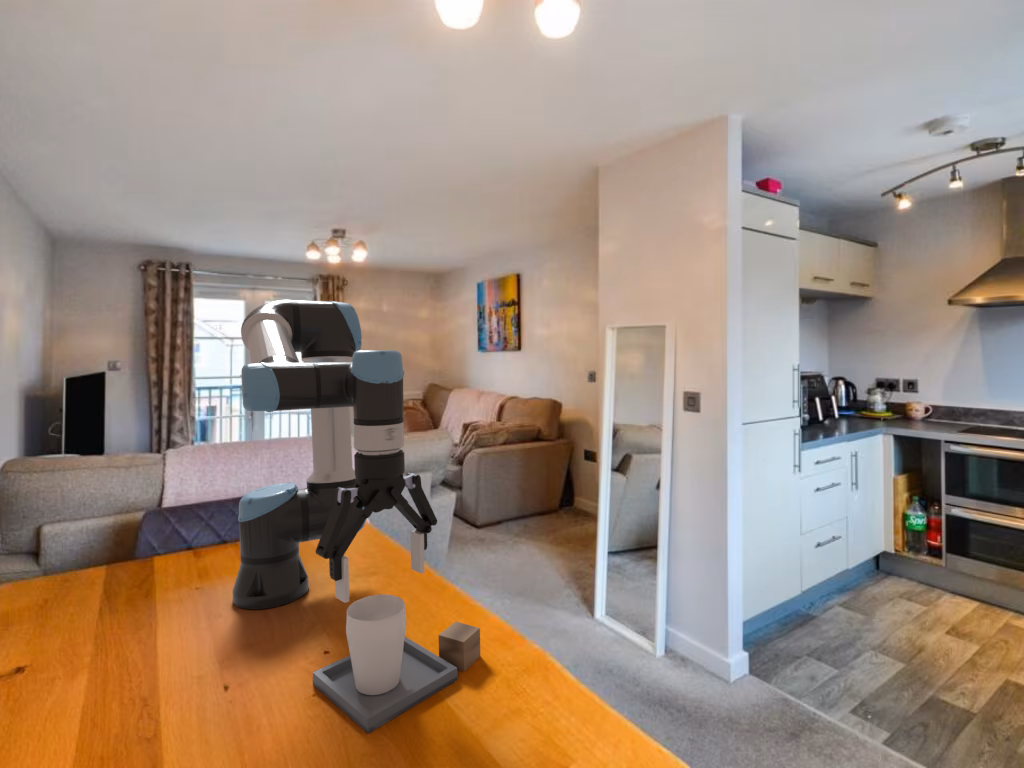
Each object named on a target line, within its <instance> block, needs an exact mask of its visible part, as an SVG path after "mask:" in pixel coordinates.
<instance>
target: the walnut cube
mask: <svg viewBox="0 0 1024 768" xmlns="http://www.w3.org/2000/svg"><path fill="white" fill-rule="evenodd" d="M438 657H440V658H442V659H443V660H445V661H447V662H448V663H450V664H452V665H453V666H455V667H457V671H461V672H463V673H464V672H466V671H467V669H469V668H470V667H471V666H472V665H473V664H474V663H475V662H476V661H477V660H478V659H479V658H480V657H481V628H480V627H477V626H473V625H469V624H465V623H462V622H460V621H454V622H453V623H452V624H450V625H449V626H448V627H446V629H444V630H443V631H441V632H440V633H439V634H438Z"/></svg>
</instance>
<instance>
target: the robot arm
mask: <svg viewBox="0 0 1024 768" xmlns="http://www.w3.org/2000/svg"><path fill="white" fill-rule="evenodd" d="M240 334H241V340H242V343H243V345H244V346H245V348H246V349H247V350H248V351H249V357H250V362H251V363H247V364H244V365H242V367H241V395H242V396H241V398H242V405H243V409H245V410H246V411H249V412H266V413H271V412H272V413H273V412H279V411H281V412H282V411H298V410H310V418H311V419H310V420H311V421H310V422H311V424H310V425H311V441H312V447H311V448H312V468H313V471H312V473H311V475H309V477H307V478H306V488H301V489H300V488H298V486H297V484H295V482H294V483H293V482H287V483H281V482H280V483H274V484H269V485H267V486H262V487H259V488H256V489H254V490H251V491H249V492H248V493H245V495H243V496H242V497H241V499H240V500H239V504H238V517H237V521H238V522H239V549H240V550H239V551H240V565H239V568H238V572H237V575H236V578H235V581H234V586H233V587H232V603H233V605H234V606H236V607H237V608H240V609H245V610H263V609H270V608H276V607H279V606H283V605H287V604H289V603H292V602H293V601H294V602H295V601H296V600H298V599H300V598H302V597H303V596H304V595H306V593H307V592H308V590H309V589H310V585H309V582H310V581H309V576H308V574H307V570H306V569H305V566H304V563H303V560H302V558H301V556H300V544H301V543H305V542H310V541H316V540H319V541H318V542H317V546H316V549H315V554H316V555H318V556H319V557H321V558H323V559H324V560H328V564H329V570H328V571H329V578H330V579H332V580H333V581H334V582H335V583H334V588H335V593H334V596H335V598H336V599H338V600H339V601H341V602H342V603H348V602H350V577H349V576H350V574H349V573H350V572H349V569H350V568H349V557H348V556H346V555H345V554H346V553H347V551H348V549H349V547H350V545H351V544H352V542H353V541H354V539H355V538H356V537H357V534H358V533H359V532H360V531H361V530H362V529H363V528H364V526H365V524H366V522H367V519H369V518H370V517H371V515H372V514H373V513H380V512H382V511H384V510H392V509H394V507H395V508H396V509H397V510H398V512H399V513H400V514H401V515H402V516H403V518H405V519H406V520H407V521H408V523H410V524H411V526H412V527H413V528H414V529H413V530H410V570H412V571H415V572H416V573H418V574H423V573H425V571H426V570H425V551H426V550H427V548H428V534H430V533H431V532H432V529H433V527H432V526H436V525H437V524H438V519H437V517H436V514H435V512H434V510H433V508H432V507H431V503H430V502H429V500H428V498H427V496H426V494H425V491H424V489H423V486H422V478H421V476H420V474H416V473H412V472H407V473H406V475H405V476H404V473H405V472H406V471H405V461H406V460H405V451H404V450H403V447H404V446H405V431H404V428H405V427H404V425H405V423H404V418H405V417H404V413H405V412H404V378H405V370H404V366H403V357H402V354H401V352H399V351H398V350H395V349H394V350H393V349H391V350H389V349H387V350H385V349H384V350H382V349H380V350H379V349H378V350H369V349H368V350H366V349H365V350H362V343H363V342H362V329H361V322H360V318H359V316H358V314H357V310H356V309H355V307H354V306H353V305H352V304H350V303H348V302H341V301H334V300H329V301H328V300H326V301H325V300H298V299H297V300H295V299H294V300H293V299H279V300H274V301H269V302H266V303H265V304H264V303H263V304H262V305H259V306H258V307H256V308H255V309H253V310H252V311H250V313H248V314H247V315H246V317H245V318H244V319H243V322H242V323H241V328H240ZM297 353H300V354H301V355H300V356H301V361H302V362H300V360H299V358H298V356H297ZM351 408H352V409H353V446H352V427H351V426H352V424H351ZM352 447H353V448H354V450H356V452H355V453H354V454H353V450H352ZM353 462H354V466H353ZM353 467H354V468H353ZM405 488H406V489H407V490H408V493H409V495H410V497H411V499H412V502H413V503H414V506H415V507H416V509H417V512H418V513H417V512H416V511H415V508H414V507H412V506H411V505H410V503H409V501H408V500H407V499H406V498H405V497H404V496H403V495H402V493H403V491H404V490H405Z"/></svg>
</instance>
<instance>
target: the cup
mask: <svg viewBox="0 0 1024 768" xmlns="http://www.w3.org/2000/svg"><path fill="white" fill-rule="evenodd" d="M405 605H406V604H405V601H404V600H403V598H401V597H399V596H396V595H393V594H374V595H373V594H372V595H369V596H365V597H362V598H359V599H357V600H355V601H354V602H352V603H351V604H350V605H349V606H348V607H347V608H346V624H345V633H346V640H347V644H348V645H347V646H348V650H349V655H350V657H351V663H352V668H353V674H354V679H355V685H356V689H357V690H358V691H359V692H360V693H363V694H366V695H379V694H383V693H386V692H388V691H390V690H392V689H393V688H394V687H395V686H396V685H397V684H398V683H399V680H400V672H401V664H402V655H403V647H404V639H405V637H406V630H407V629H406V628H407V617H406V616H407V614H406V606H405Z"/></svg>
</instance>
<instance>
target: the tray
mask: <svg viewBox="0 0 1024 768" xmlns="http://www.w3.org/2000/svg"><path fill="white" fill-rule="evenodd" d="M456 681H458V670H457V667H455V666H453V665H452V664H450V663H448V662H447V661H445V660H443V659H442V658H440V657H439V655H437V654H435V653H434V652H432V651H430V650H428V649H427V648H425V647H423V646H421V644H418V643H417V642H415V641H413V640H412V639H410V638H408V637H407V636H405V639H404V647H403V655H402V664H401V672H400V680H399V683H398V684H397V685H396V686H395V687H394V688H393V689H392V690H390V691H388V692H386V693H383V694H379V695H366V694H363V693H360V692H359V691H358V690H357V689H356V685H355V679H354V674H353V668H352V663H351V657H350V654H349V655H347V656H345V657H343V658H341V659H338V660H336V661H334V662H331V663H330V664H328V665H325V666H324V667H321V668H319V669H317V670H315V671H313V672H312V685H313V686H314V687H315V688H316V689H318V691H320V693H322V694H323V695H324V696H325V697H326V698H327V699H328V700H330V701H331V702H332V703H333V704H334V705H335V706H336V707H337V708H338V709H339V710H341V712H343V713H344V714H345V715H346V716H347V717H349V718H350V720H352V721H353V722H354V723H355V724H357V726H359V727H360V728H361V729H362V730H363V731H364V732H365V733H366V734H369V733H372V732H374V731H375V730H376V729H378V728H380V727H381V726H383V725H385V724H386V723H388V722H390V721H392V720H393V719H395V718H397V717H398V716H400V715H401V714H403V713H405V712H406V711H408V710H410V709H411V708H413V707H415V706H417V705H418V704H420V703H421V702H423V701H425V700H427V699H428V698H430V697H432V696H433V695H436V693H438V692H440V691H442V690H444V689H446V687H448V686H450V685H452V684H453V683H454V682H456Z"/></svg>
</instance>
